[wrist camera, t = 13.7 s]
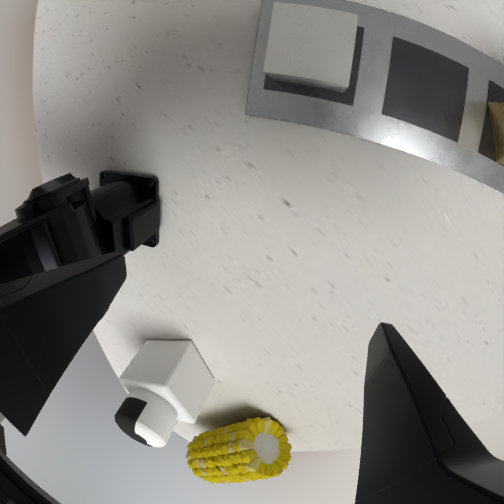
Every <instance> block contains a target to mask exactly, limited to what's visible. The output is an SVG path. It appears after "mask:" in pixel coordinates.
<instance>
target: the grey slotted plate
mask: <svg viewBox="0 0 504 504" xmlns="http://www.w3.org/2000/svg"><path fill="white" fill-rule="evenodd" d="M274 2H281V3H292V4H301V5H309V6H316V7H322V8H328V9H333V10H339V11H343V12H348V13H353V14H357V15H358V22H357V30H356V39H355V46H354V54H353V61H352V68H351V74H350V80H349V87H348V88H347V89H346V91H345V92H344V93H341V92H337V91H333V90H328V89H323V88H318V87H313V86H308V85H302V84H296V83H290V82H284V81H276V80H274V79H273V78H272V77H270V76H269V75H267V74H266V73H264V72H263V69H264V63H265V56H266V50H267V43H268V37H269V31H270V25H271V18H272V12H273V6H274ZM488 102H502V103H504V66H503V65H502V64H500V63H498V62H497V61H495V60H494V59H492V58H490V57H489V56H487V55H485V54H484V53H482V52H480V51H479V50H477V49H475V48H473V47H471V46H469V45H468V44H466V43H464V42H462V41H460V40H458V39H456V38H454V37H452V36H450V35H448V34H445V33H443V32H441V31H439V30H436V29H434V28H432V27H429V26H427V25H425V24H422V23H419V22H417V21H414V20H412V19H409V18H406V17H403V16H400V15H397V14H394V13H391V12H388V11H384V10H381V9H378V8H374V7H370V6H367V5H363V4H358V3H354V2H350V1H345V0H263V3H262V8H261V14H260V20H259V26H258V33H257V39H256V45H255V52H254V58H253V65H252V71H251V78H250V85H249V92H248V99H247V106H246V113H245V115H249V116H257V117H263V118H270V119H276V120H282V121H288V122H293V123H299V124H304V125H309V126H313V127H318V128H323V129H327V130H331V131H336V132H340V133H344V134H348V135H351V136H355V137H359V138H363V139H366V140H370V141H373V142H377V143H380V144H383V145H386V146H390V147H393V148H396V149H399V150H402V151H405V152H408V153H411V154H414V155H416V156H419V157H422V158H425V159H427V160H430V161H433V162H435V163H438V164H440V165H443V166H445V167H448V168H450V169H453V170H455V171H457V172H460V173H462V174H464V175H467V176H469V177H471V178H473V179H475V180H478V181H480V182H482V183H484V184H486V185H488V186H490V187H492V188H494V189H496V190H498V191H500V192H502V193H504V165H503V164H500V163H498V162H496V157H495V147H494V138H493V131H492V124H491V118H490V112H489V107H488Z"/></svg>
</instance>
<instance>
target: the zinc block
mask: <svg viewBox="0 0 504 504" xmlns="http://www.w3.org/2000/svg"><path fill="white" fill-rule="evenodd" d="M357 22H358V15H357V14H353V13H348V12H343V11H339V10H333V9H328V8H322V7H316V6H309V5H301V4H292V3H281V2H274V6H273V12H272V18H271V25H270V31H269V37H268V43H267V50H266V56H265V63H264V69H263V72H264V73H266V74H267V75H269V76H270V77H272V78H273V79H274V80H276V81H284V82H290V83H296V84H302V85H308V86H313V87H318V88H323V89H328V90H333V91H337V92H341V93H344V92H345V91H346V89H347V88H348V87H349V80H350V74H351V68H352V61H353V54H354V46H355V39H356V30H357Z"/></svg>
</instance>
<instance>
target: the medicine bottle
mask: <svg viewBox="0 0 504 504" xmlns="http://www.w3.org/2000/svg"><path fill="white" fill-rule="evenodd" d="M119 380H120V382H121V383H122V384H123V386H124V387H125V388H126V389H127V390H128V392H129V394H128V396H127V397H126V399H125V400H124V402H123V404H122V405H121V407H120V408H119V410H118V411H117V413H116V414H115V421H116V423H117V424H118V426H119V427H120V429H121V430H122V431H123V432H124V433H126V434H127V435H129V436H130V437H131V438H133V439H134V440H136V441H138V442H140V443H142V444H145V445H147V446H151V447H163V446H165V445H166V443H167V441H168V439H169V437H170V435H171V433H172V431H173V429H174V427H175V425H176V423H177V421H181V422H187V423H195V422H196V420H197V418H198V416H199V413H200V411H201V409H202V407H203V405H204V402H205V400H206V398H207V396H208V393H209V391H210V389H211V387H212V384H213V382H214V378H213V376H212V375H211V373H210V371H209V370H208V368H207V367H206V365H205V363H204V361H203V360H202V358H201V356H200V355H199V353H198V351H197V349H196V348H195V346H194V344H193V342H192V341H163V340H147V341H146V342H145V343H144V344H143V346H142V347H141V349H140V350H139V351H138V353H137V354H136V355H135V357H134V358H133V360H132V361H131V362H130V364H129V365H128V366H127V368H126V369H125V371H124V372H123V373H122V375H121V376H120V378H119Z"/></svg>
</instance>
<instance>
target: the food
mask: <svg viewBox="0 0 504 504" xmlns="http://www.w3.org/2000/svg"><path fill="white" fill-rule="evenodd" d="M283 433H284V428H283V427H282V426H280V425H279V423H278V422H276V421H273V420H271V418H270V417H264V418H263V419H262V418H260V417H257V418H255V419H253V418H251V419H247V420H246V421H243V422H238V423H235V424H230V425H227V426H226V427H219V428H216V429H214V430H210V431H205V432H204V433H201V434H199V436H194V438H193V442H190V444H189V445H188V446H187V447H188V449H189V451H187V455H186V457H187V459H188V465H189V467H190V468H191V469H192V470H193V473H194V475H196V476H199V477H200V478H201V479H203V480H204V481H209V482H211V483H219V482H220V483H231V482H232V483H233V482H239V483H240V482H245V481H246V482H247V481H250V480H252V481H254V480H257V479H267V478H270V477H275V476H278V475H280V474H281V473H282V471H283V469H286V468H287V466H288V462H289V461H290V459H291V454H290V450H291V448H292V447H291V445H290V444H289V443H287V441H288V438H287V436H286V434H283Z"/></svg>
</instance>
